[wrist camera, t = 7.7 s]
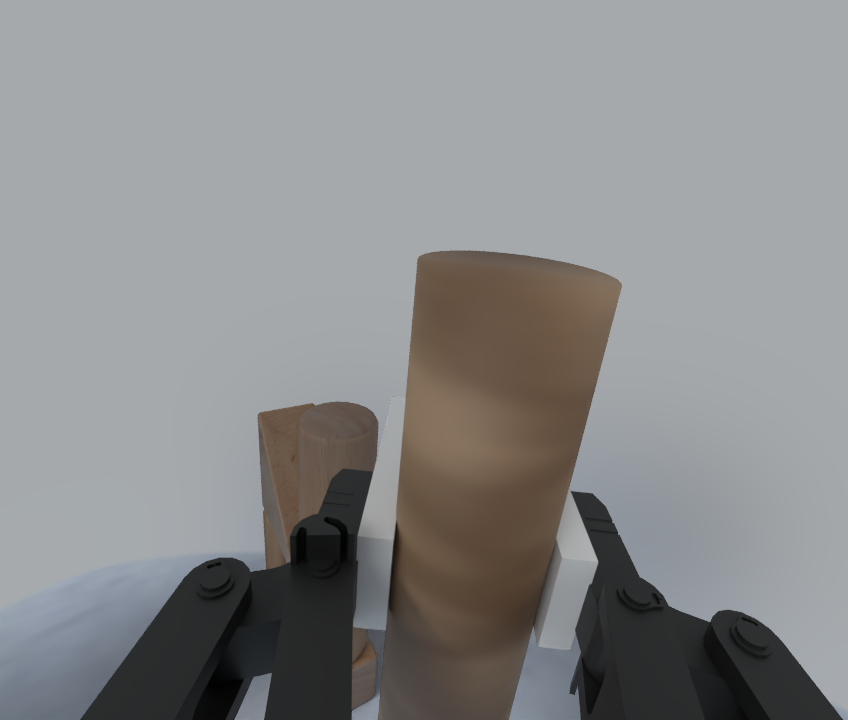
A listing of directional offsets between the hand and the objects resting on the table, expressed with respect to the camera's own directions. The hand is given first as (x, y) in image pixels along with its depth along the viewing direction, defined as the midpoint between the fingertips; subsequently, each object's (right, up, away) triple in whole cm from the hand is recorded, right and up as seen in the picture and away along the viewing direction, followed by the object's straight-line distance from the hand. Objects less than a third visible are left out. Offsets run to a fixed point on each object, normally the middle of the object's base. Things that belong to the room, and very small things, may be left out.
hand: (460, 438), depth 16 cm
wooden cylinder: (-1, -10, -2) cm, 10 cm away
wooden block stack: (-8, -15, +14) cm, 22 cm away
